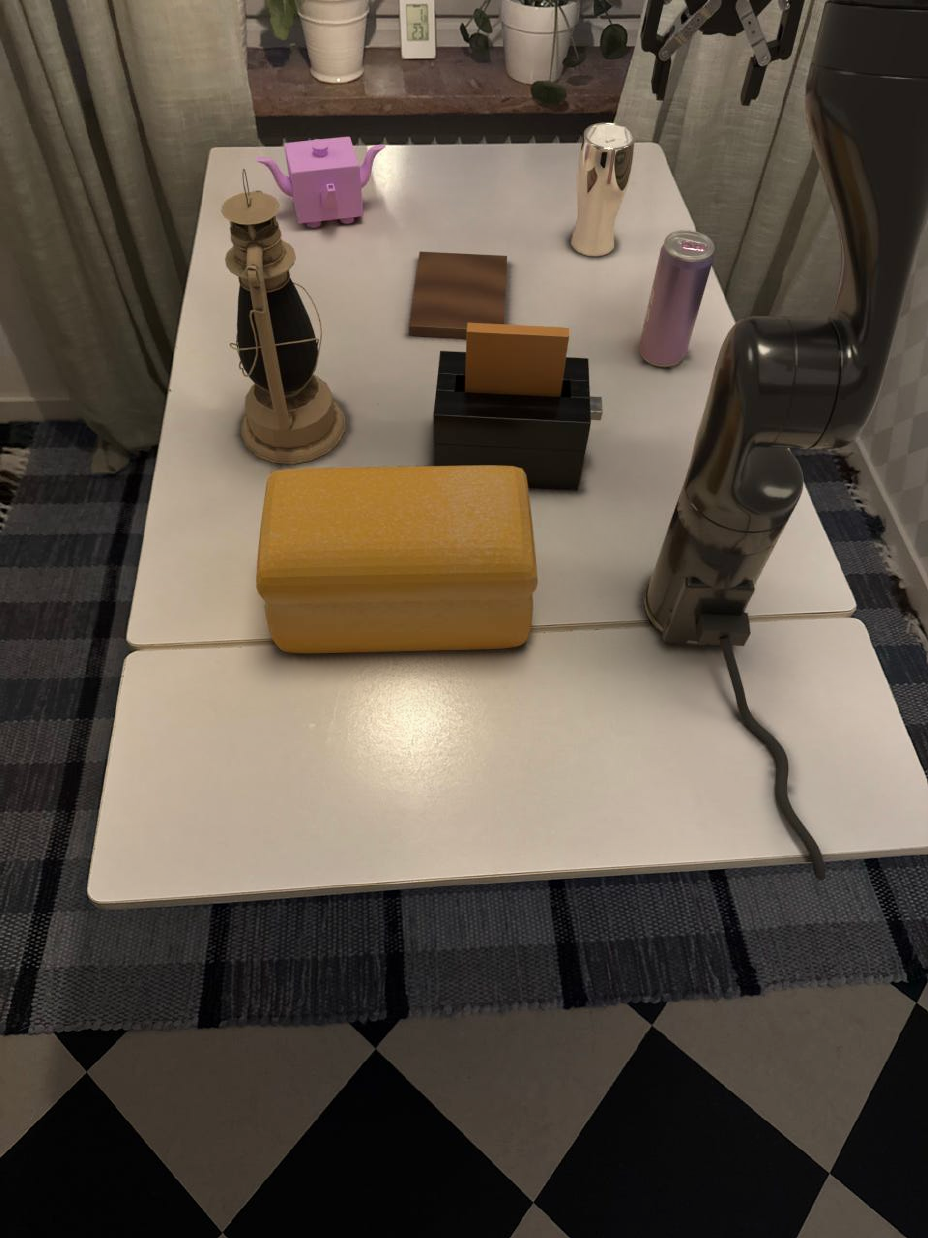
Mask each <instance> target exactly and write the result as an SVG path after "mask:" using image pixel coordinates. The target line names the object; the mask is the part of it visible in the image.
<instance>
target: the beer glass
mask: <svg viewBox="0 0 928 1238" xmlns="http://www.w3.org/2000/svg"><path fill="white" fill-rule="evenodd" d="M635 143H636V135H635V133H634V131H633V130H632V129H630V128H629V127H628V126H625V125H623V124H620V123H615V122H598V123H594V124H591V125H589V126H588V127H587V128H585V129H584V131H583V137H582V141H581V146H580V151H579V156H578V162H577V171H576V201H577V203H576V204H577V217H576V224H575V227H574V230H573V233H572V235H571V240H570V244H571V247H572V248H573V250H574V251H576V252H577V253H579V254H581V255H583V256H587V257H603V256H605V255H608V254H610V253H611V252H612V251H613V249H614V247H615V226H616V220H617V218H618V214H619V211H620V209H621V205H622V203H623V201H624V198H625V195H626V192H627V189H628V185H629V182H630V178H631V173H632V169H633V160H634V153H635V152H634V151H635Z"/></svg>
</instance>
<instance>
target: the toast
mask: <svg viewBox="0 0 928 1238" xmlns="http://www.w3.org/2000/svg"><path fill="white" fill-rule="evenodd" d="M465 340H466V341H465V352H466V371H465V392H474V393H494V394H513V395H532V396H552V397H560V396H561V390H562V383H563V376H564V369H565V362H566V357H567V354H568V347H569V341H570V328H569V327H561V326H544V325H543V326H541V325H540V326H539V325H524V324H523V325H522V324H505V323H504V324H485V323H467V333H466V338H465Z"/></svg>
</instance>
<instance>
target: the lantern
mask: <svg viewBox="0 0 928 1238" xmlns="http://www.w3.org/2000/svg"><path fill="white" fill-rule="evenodd" d="M241 173H242V185H243V191H244V192H241V193H238V194H235V195H232V196H231V197H229V198H228V199H226V200H225V201H224V202H223V204H222V205H221V209H220V211H221V214H222V216H223V218H225V219H226V220H228V221H229V224H230V225H229V226H230V227H229V232H230V242H231V243H232V247H231V248H230V249H229V250H227V252H226V255H225V257H224V262H225V267H226V268H227V269H228V271H229V272H230V274H233V275H234V276H236V277H237V278H238V283H239V286H238V295H237V313H236V315H237V316H236V335H235V337H236V339H235V343H234V342H230V343H229V347H230V348H231V349H233V350H236V351H237V354H238V358H239V362H238V369H239V370H241V373H242V376H243V377H245V378H247V377H248V378H249V379H250V380H251V381H252V382H253V384H252V385H251V386H250V388H249V389H248V392H247V393H246V395H245V397H244V398H245V399H244V401H245V402H244V410H245V414H246V415H245V416H244V418H243V419H242V423H241V433H240V434H241V437H242V439H243V441H244V444H245V446H246V448H247V449H248V450H249V451H251V453H253V454H254V455H255V456H256V457H258V458H259V459H263V460H266V461H268V462H270V463H273V464H282V465H283V464H286V465H297V464H302V463H308V462H313V461H315V460H316V459H319V458H321V457H323V456H325V455H328V454H329V453H330V452H331V451H332V450H333V449H334V448H336V446H337V445H339V444H340V442H341V440H342V438H343V436H344V434H345V432H346V416H345V414H344V412H343V411H342V409H341V407H340V405H339V404H338V403H336V401H334V399H333V392H332V390H331V389H330V387H329V385H328V384H327V382H325V380H323V379H322V378H320V377H319V376H318V375H316V374H315V372H316V371H317V366H318V361H319V356H320V351H321V347H322V346H321V345H322V338H323V328H322V321H321V318H320V313H319V311H318V309H317V306H316V303H315V302H314V300H313V298H312V296H311V294H310V293H309V292H308V290H307V289H306V288H305V287H304V286H303V285H301V284H299V283H296V282H294V281H293V280H292V278H291V274H290V270H291V268H292V267H293V266H294V265H295V262H296V259H297V257H296V252H295V249H294V248H293V246H292V244H290V243H288V242H286V241H285V240H283V239H282V236H283V234H282V230H281V229H280V224H279V222H278V219H277V215H278V213H279V211H280V207H281V205H280V204H281V203H280V202H279V200H278V199H277V198H276V197H274V196H273V195H271V194H268V193H265V192H263V191H262V190H259V189H256V190H253V191H250V187H249V182H248V176H247V172H246V169H245V168H242V171H241ZM245 182H246V184H245ZM245 185H246V186H245ZM246 188H247V190H246ZM296 286H298V287H300V288H301V289H302V290H304V292H305V293H306V295H307V296H308V297H309V299H310V300H311V302H312V303H311V304H312V305H313V307H314V309H315V312H316V315H317V318H318V322H319V329H320V336H319V337H320V338H318V337H316V333H315V329H314V327H313V324H312V321H311V318H310V315H309V314H308V311H307V309H306V307H305V304H304V303H303V300H302V298H301V296H300V293H299V292H298V289H297V287H296ZM232 345H233V346H232ZM234 346H236V347H234ZM241 365H242V366H241Z"/></svg>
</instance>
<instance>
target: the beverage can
mask: <svg viewBox="0 0 928 1238" xmlns="http://www.w3.org/2000/svg"><path fill="white" fill-rule="evenodd" d="M715 246H716V245H715V243H714V241H713V240H712V239H711V238H710V237H709V236H708V235H706V234H704V233H702V232H699V231H697V230H688V229H680V230H676V231H673V232H671V233H669V234H668V235H666V237H665V239H664V242H663V244H662V245H661V248H660V252H659V255H658V259H657V265H656V269H655V273H654V278H653V281H652V286H651V290H650V295H649V299H648V304H647V309H646V312H645V317H644V321H643V325H642V329H641V334H640V338H639V343H638V350H639V353H640V356H641V357H642V358H643V359H644V361H645V362H647V363H648V364H650V365H652V366H655V367H660V368H670V367H674V366H676V365H678V364H679V363H681V362H682V361H683V360H684V359H685V357H686V356H687V353H688V349H689V346H690V342H691V339H692V335H693V333H694V332H693V331H694V329H695V325H696V321H697V318H698V315H699V311H700V307H701V305H702V301H703V297H704V293H705V290H706V288H707V287H706V286H707V283H708V279H709V276H710V272H711V269H712V265H713V263H714V260H715V259H714V258H715V255H714V252H715V248H716V247H715Z"/></svg>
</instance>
